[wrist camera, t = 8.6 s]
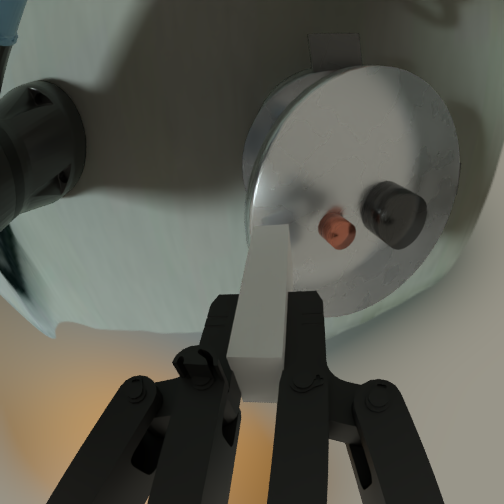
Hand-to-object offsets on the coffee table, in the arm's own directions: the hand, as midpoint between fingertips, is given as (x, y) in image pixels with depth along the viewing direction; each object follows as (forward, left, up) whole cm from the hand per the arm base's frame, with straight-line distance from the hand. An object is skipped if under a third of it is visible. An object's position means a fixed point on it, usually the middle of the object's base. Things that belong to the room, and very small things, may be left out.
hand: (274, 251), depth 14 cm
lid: (+5, 0, -5) cm, 7 cm away
